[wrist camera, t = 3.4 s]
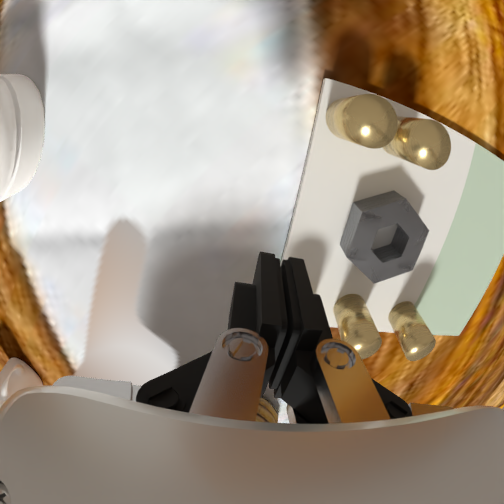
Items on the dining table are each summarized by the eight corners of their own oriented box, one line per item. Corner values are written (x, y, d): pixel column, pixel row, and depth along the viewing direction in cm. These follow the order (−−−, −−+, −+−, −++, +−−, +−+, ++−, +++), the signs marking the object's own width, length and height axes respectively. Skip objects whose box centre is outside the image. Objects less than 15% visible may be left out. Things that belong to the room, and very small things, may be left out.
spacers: (476, 155, 17) (515, 169, 12) (406, 326, 25) (424, 360, 21) (330, 93, 16) (352, 86, 12) (275, 310, 24) (276, 352, 20)
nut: (423, 200, 19) (437, 209, 17) (394, 274, 22) (404, 288, 20) (358, 179, 19) (369, 187, 17) (332, 263, 22) (338, 278, 20)
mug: (43, 366, 34) (16, 412, 24) (44, 392, 39) (24, 431, 29) (7, 338, 32) (-23, 379, 22) (13, 368, 37) (-10, 405, 27)
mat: (524, 178, 18) (528, 180, 17) (456, 331, 27) (458, 335, 26) (323, 79, 16) (325, 78, 16) (267, 312, 25) (267, 318, 25)
